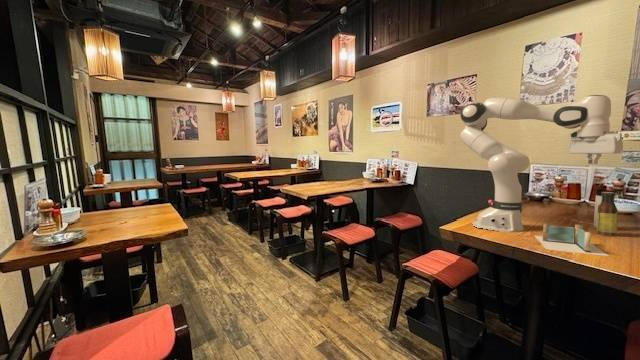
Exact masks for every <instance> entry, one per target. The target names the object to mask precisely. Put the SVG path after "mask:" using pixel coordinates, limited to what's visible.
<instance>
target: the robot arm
mask: <svg viewBox="0 0 640 360" xmlns="http://www.w3.org/2000/svg"><path fill="white" fill-rule="evenodd" d="M611 115H612V101H611V98H610V97H608V96H607V95H605V94H604V95H603V94H602V95H600V94H592V95H591V94H590V95H587V96H584V97H583V98H582V99H580V100H578V101H575V102H574V103H571V104H568V105H565V106H562V107H560V108H559V109H558V108H549V107H543V106H542V107H541V106H537V105H534V104H532V103H529V102H528V101H525V100H522V99H519V98H512V97H503V96H501V97H500V96H499V97H497V96H495V97H488V98H487V99H486V100H484V102H483V103H482V102H476V103H469V104H466V105H465V106H463V107H462V109H461V110H460V118H461V120H462V122H463V124H464V129H462V130H461V132H460V133H459V138H460V140H461V141H462V142H463V144H464V145H465V146H466V147H468V148H469V149H470V150H471V151H472V152H474V153H475V154H476V155H477V156H479V157H480V158H481V159H484V160H486V161H488V162H487V168H488V170H489V171H490V172H491V174H492V177H493V178H492V179H493V182H494V183H493V184H494V200H492V199H489V200H487V201H488V204H489V207H488V208H486V209H484V210H482V211H480V212H479V213H478V215H477V218H476V220H473V221H472V222H471V223H472V224H473V225H472V224H471V225H472V227H473V226H475V227H477V228H476V229H478V228H483V229H482V230H486V229H488V230H487V231H493V230H494V231H496V232H504V233H514V232H523V231H525V228H524V225H523V220H522V213H523V202H522V193H523V192H522V190H523V188H522V185H521V183H520V181H519V177H518V174H521V173H523V172H524V171H527V169H528V168H529V167H530V163H531V160H530V157H529V156H528V155H526V154H523V153H522V152H520V151H518V150H515V149H514V148H512V147H510V146H508V145H506V144H504V143H502V142H500V141H498V140H497V139H496V138H494V137H493V136H491V135H490V134H488V133H487V132H485V131H484V130H485V129H486V127H487V126H488V119H493V118H494V119H500V120H506V121H507V120H508V121H509V120H510V121H511V120H512V121H513V120H515V121H516V120H517V121H518V120H519V121H520V120H535V121H536V120H537V121H543V122H544V121H545V122H549V123H555V124H556V125H557V126H558V127H562V128H563V129H564V128H565V129H572V130H573V129H577V128H579V127H580V129H577V130H576V131H574V132H570V133H569V135H568V136H569V137H568V138H569V141H568V145H567V151H568V154H570V155H571V154H573V155H575V154H578V155H580V154H583V155H584V158H585V159H586V163H587V165H598V162H599V159H600V158H601V157H602V155H603V154H604V155H605V154H606V155H607V154H621V153H623V151H624V144H623V138H622V137H623V134H622V133H621V132H619V131H618V130H613V131H611V130H610V128H611V123H610V117H611ZM475 227H474V228H475ZM494 231H493V232H494Z"/></svg>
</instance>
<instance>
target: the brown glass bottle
mask: <svg viewBox="0 0 640 360" xmlns="http://www.w3.org/2000/svg"><path fill="white" fill-rule="evenodd" d="M595 189H596V190H595V200H594V202H595V203H594V214H593V226H592V227H593V229H596V230H597V212H598V205H599V204H600V203H601V202H602V195H601V193H602V192H613V193H615V194H616V191H615V190H610V189H602V188H595ZM615 197H616V195H615V196H614V200H615Z"/></svg>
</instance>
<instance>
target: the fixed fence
mask: <svg viewBox="0 0 640 360" xmlns="http://www.w3.org/2000/svg"><path fill="white" fill-rule="evenodd" d="M578 229H583V230H584V225H582V224H574V227H572V226H563V225H562V226H561V225H560V226H557V225H549V223H546V222H545V223H543V230H542V232H543V233H542V236H543V241H548V240H557V241H568V242H573V240H574V244H577V245H579V244H578V243H577V241H578Z"/></svg>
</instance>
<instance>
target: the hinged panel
mask: <svg viewBox="0 0 640 360" xmlns="http://www.w3.org/2000/svg"><path fill="white" fill-rule="evenodd" d="M591 238H592V233H591V232H589V231H585V230H584V228H583V229H578V241H577V243H578V244H579V245H580V246H581V247H582V248H583V249H584V250H588V251H589V250H590V243H591Z"/></svg>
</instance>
